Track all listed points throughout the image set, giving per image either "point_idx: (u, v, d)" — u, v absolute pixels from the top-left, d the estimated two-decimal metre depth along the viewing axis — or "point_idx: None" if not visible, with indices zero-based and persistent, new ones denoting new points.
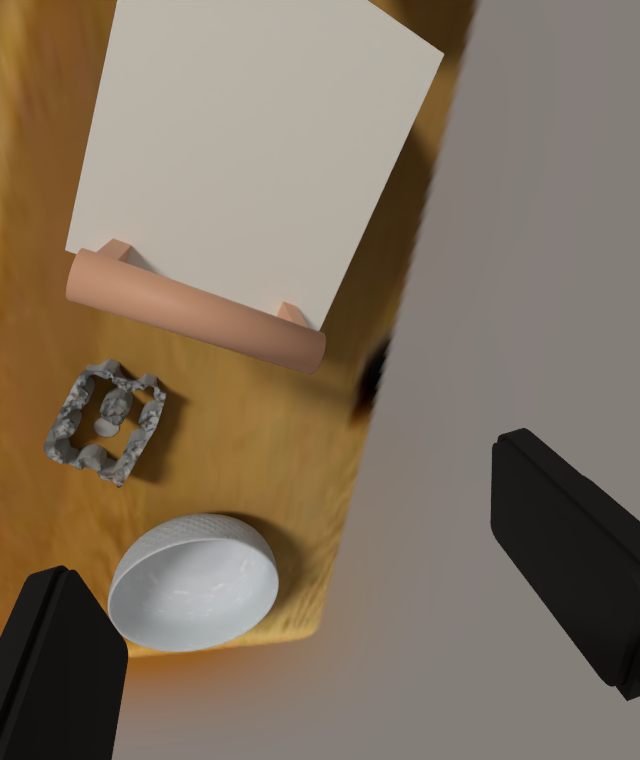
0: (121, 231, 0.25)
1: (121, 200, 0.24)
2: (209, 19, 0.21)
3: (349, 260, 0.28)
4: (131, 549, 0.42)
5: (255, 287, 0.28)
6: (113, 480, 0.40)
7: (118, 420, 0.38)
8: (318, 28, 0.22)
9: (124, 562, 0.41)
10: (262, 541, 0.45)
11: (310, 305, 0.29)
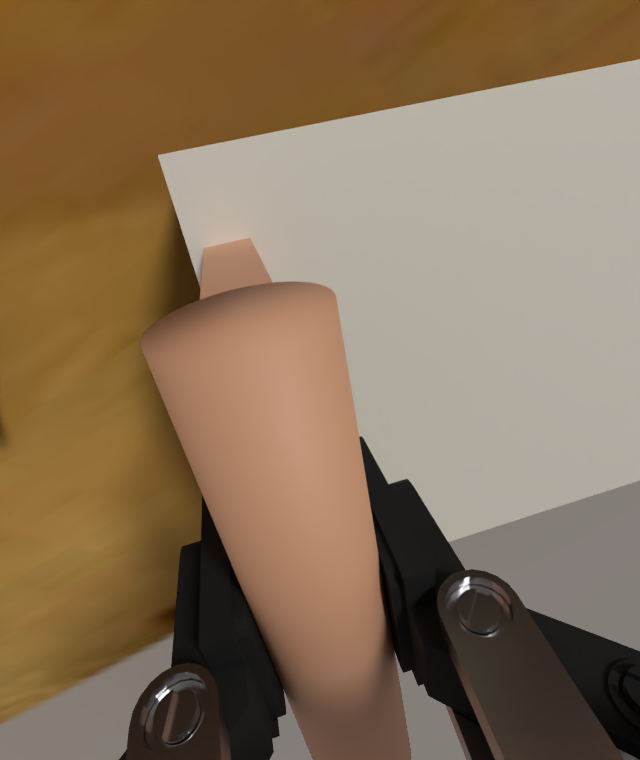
0: (273, 245, 0.11)
1: (330, 217, 0.11)
2: None
3: None
4: None
5: None
6: None
7: None
8: None
9: None
10: None
11: None
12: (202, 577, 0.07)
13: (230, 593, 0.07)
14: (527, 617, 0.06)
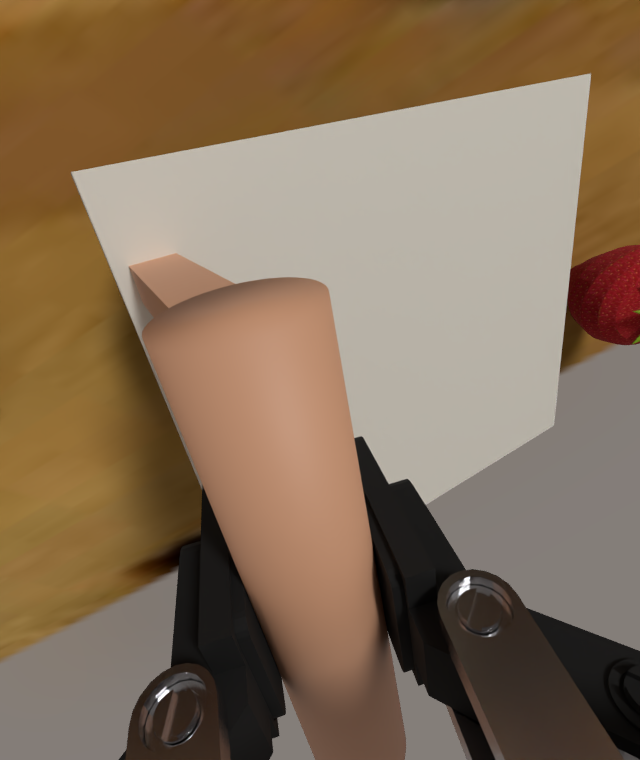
0: (200, 260, 0.11)
1: (252, 230, 0.12)
2: (503, 215, 0.16)
3: None
4: None
5: None
6: None
7: None
8: (534, 321, 0.19)
9: None
10: None
11: None
12: (201, 577, 0.07)
13: (230, 593, 0.07)
14: (527, 617, 0.06)
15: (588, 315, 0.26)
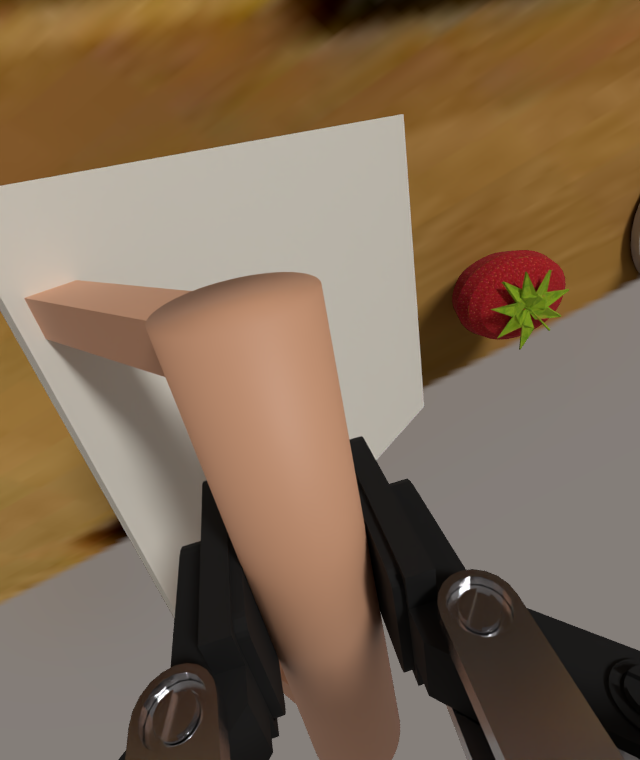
0: None
1: (153, 252, 0.12)
2: (361, 229, 0.19)
3: None
4: None
5: (196, 524, 0.15)
6: None
7: None
8: (396, 318, 0.23)
9: None
10: None
11: None
12: (201, 577, 0.07)
13: (230, 593, 0.07)
14: (528, 617, 0.06)
15: (462, 313, 0.29)
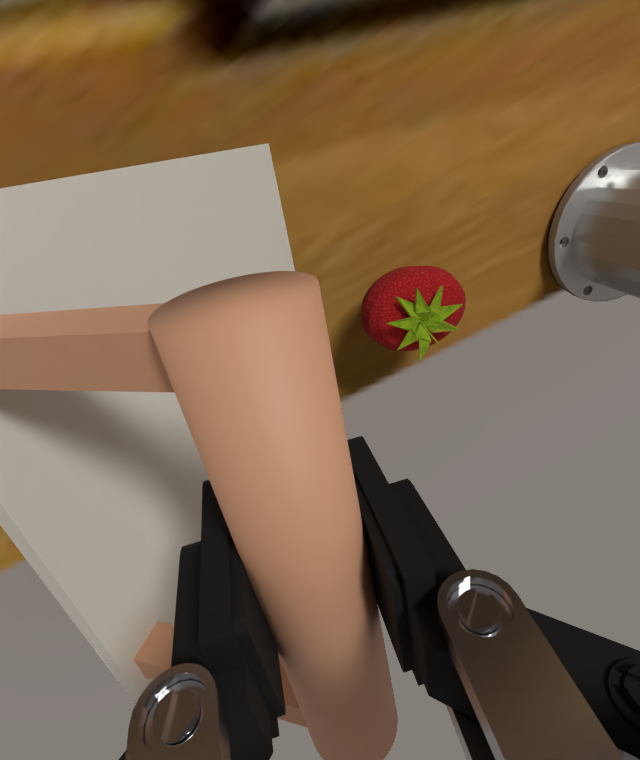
0: None
1: (57, 280, 0.11)
2: (250, 249, 0.19)
3: None
4: None
5: (138, 574, 0.13)
6: None
7: None
8: None
9: None
10: None
11: None
12: (201, 577, 0.07)
13: (230, 593, 0.07)
14: (527, 617, 0.06)
15: (365, 325, 0.30)
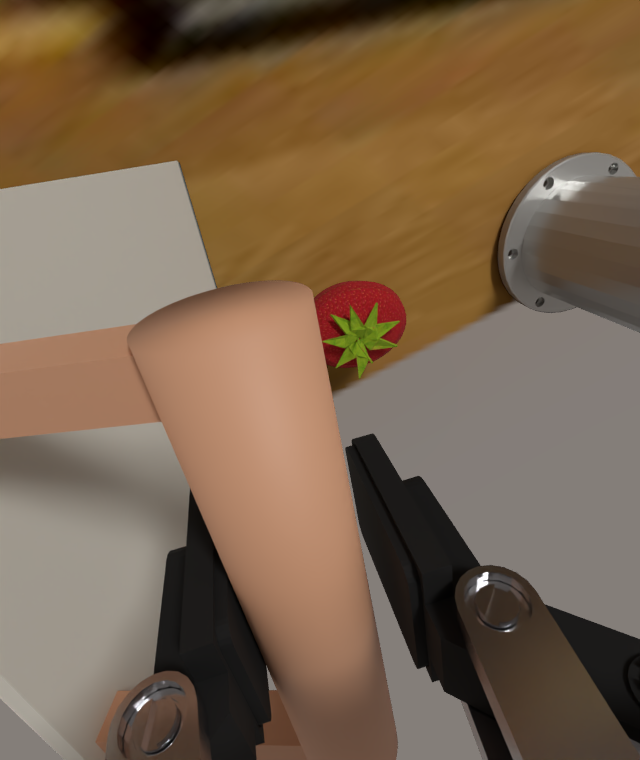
0: None
1: None
2: (171, 270, 0.18)
3: None
4: None
5: (91, 641, 0.12)
6: None
7: None
8: None
9: None
10: None
11: None
12: (185, 583, 0.07)
13: (213, 599, 0.07)
14: (546, 614, 0.06)
15: None
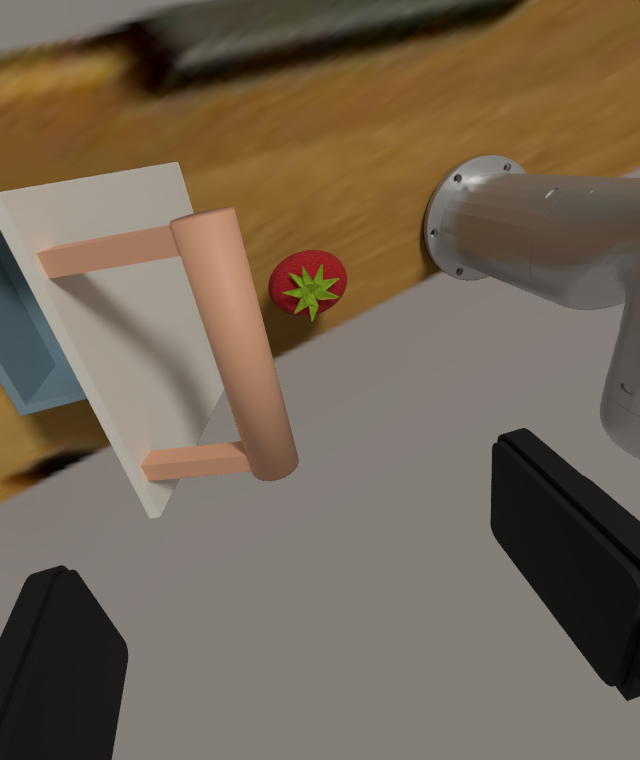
0: None
1: (83, 233, 0.19)
2: None
3: None
4: None
5: (137, 416, 0.22)
6: None
7: None
8: None
9: None
10: None
11: None
12: None
13: None
14: None
15: (271, 296, 0.40)
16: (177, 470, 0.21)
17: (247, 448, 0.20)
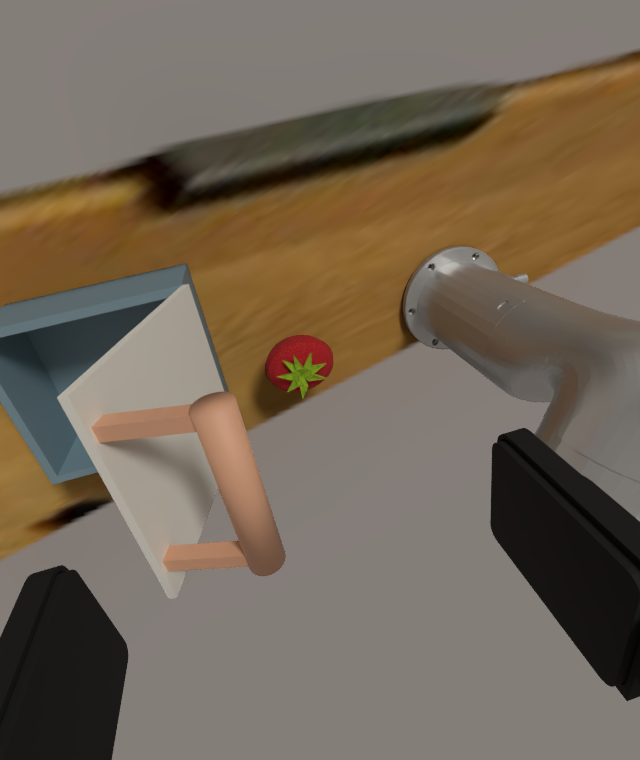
0: (110, 413, 0.24)
1: (120, 393, 0.25)
2: (186, 348, 0.35)
3: (202, 528, 0.34)
4: None
5: (159, 521, 0.28)
6: None
7: None
8: (212, 388, 0.39)
9: None
10: None
11: None
12: None
13: None
14: None
15: (267, 376, 0.46)
16: (191, 564, 0.28)
17: (245, 553, 0.26)
